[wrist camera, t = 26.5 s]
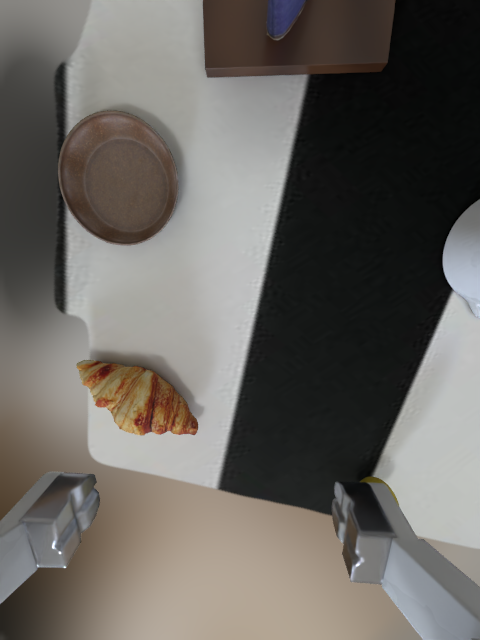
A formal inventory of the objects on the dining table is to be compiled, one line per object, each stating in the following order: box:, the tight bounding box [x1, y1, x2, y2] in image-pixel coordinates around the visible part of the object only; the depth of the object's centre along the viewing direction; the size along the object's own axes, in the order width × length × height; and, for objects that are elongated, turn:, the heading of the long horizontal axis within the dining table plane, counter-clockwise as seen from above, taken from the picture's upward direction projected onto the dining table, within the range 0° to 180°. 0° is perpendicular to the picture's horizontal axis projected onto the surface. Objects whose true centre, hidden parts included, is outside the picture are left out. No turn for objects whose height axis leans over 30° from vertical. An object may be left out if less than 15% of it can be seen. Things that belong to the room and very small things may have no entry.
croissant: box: [77, 360, 198, 435], centre depth 38 cm, size 21×10×8 cm, turn 60°
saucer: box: [58, 111, 178, 245], centre depth 31 cm, size 15×15×3 cm
